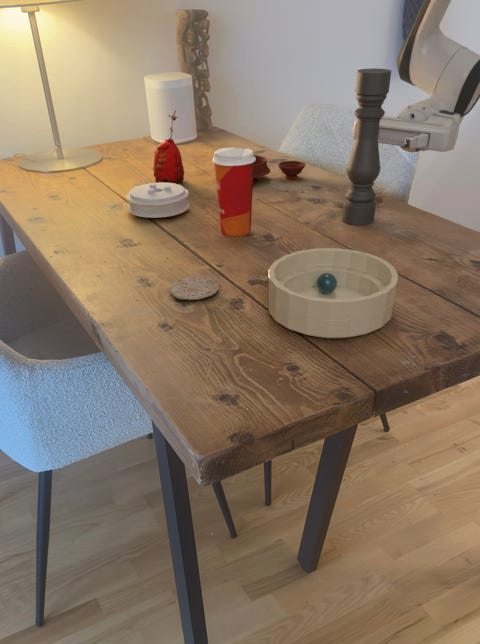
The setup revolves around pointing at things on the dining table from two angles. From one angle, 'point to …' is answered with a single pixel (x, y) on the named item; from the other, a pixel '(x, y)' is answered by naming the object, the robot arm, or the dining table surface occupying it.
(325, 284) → the bead
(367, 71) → the candle holder
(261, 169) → the pottery
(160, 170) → the red vase with sprig
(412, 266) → the dining table surface
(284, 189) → the dining table surface
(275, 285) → the bowl
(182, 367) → the dining table surface
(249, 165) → the paper cup
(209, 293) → the flatbread
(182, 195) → the lid
